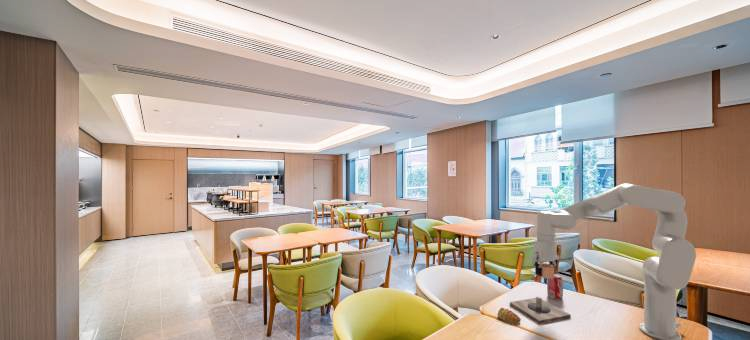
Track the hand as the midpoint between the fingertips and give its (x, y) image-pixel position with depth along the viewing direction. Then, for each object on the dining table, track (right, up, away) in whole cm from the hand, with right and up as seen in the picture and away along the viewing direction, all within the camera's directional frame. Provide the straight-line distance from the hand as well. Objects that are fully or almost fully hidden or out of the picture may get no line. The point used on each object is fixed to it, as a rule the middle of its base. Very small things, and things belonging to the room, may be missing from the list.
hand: (545, 274), depth 137 cm
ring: (0, -1, 0) cm, 1 cm away
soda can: (+15, -18, +16) cm, 28 cm away
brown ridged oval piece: (-20, -19, -5) cm, 28 cm away
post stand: (-2, -18, +1) cm, 19 cm away
